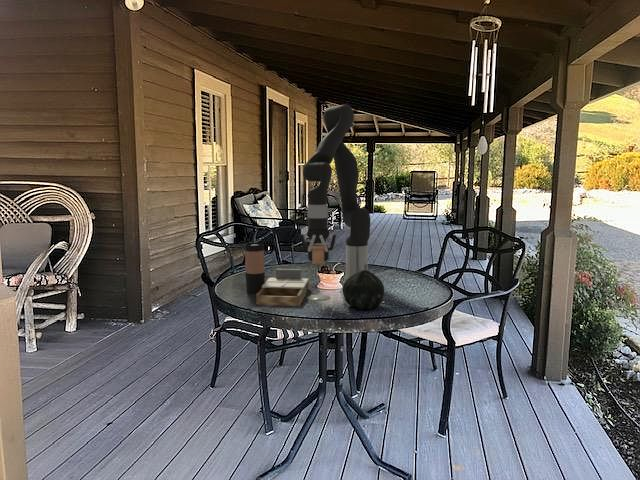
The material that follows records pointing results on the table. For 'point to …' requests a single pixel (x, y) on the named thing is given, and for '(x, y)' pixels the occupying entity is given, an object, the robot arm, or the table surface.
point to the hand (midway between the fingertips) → (318, 260)
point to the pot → (318, 254)
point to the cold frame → (281, 296)
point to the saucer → (318, 297)
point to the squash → (363, 290)
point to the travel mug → (254, 267)
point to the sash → (286, 279)
